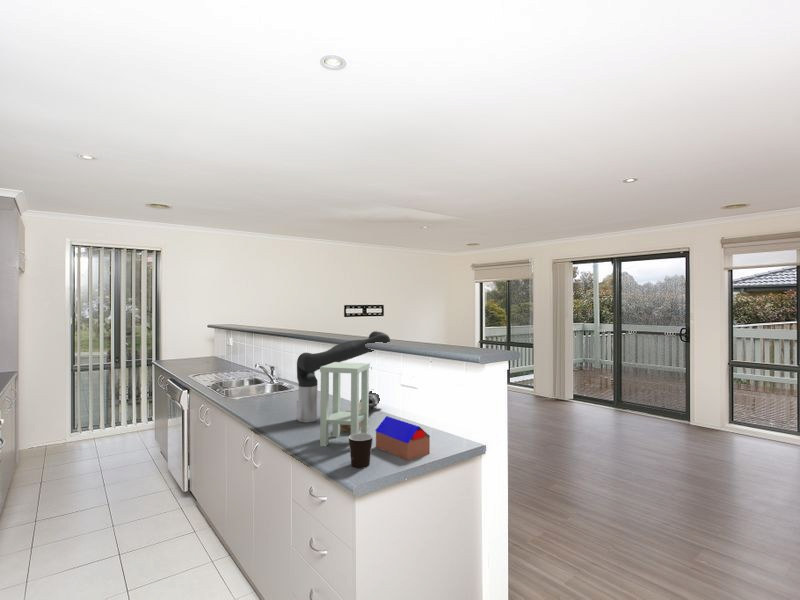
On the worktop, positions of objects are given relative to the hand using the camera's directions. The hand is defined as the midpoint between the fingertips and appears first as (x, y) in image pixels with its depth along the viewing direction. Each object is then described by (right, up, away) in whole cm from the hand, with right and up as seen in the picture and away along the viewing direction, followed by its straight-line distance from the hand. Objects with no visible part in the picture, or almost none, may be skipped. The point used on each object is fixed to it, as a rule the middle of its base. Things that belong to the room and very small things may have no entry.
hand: (358, 410), depth 204 cm
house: (+21, -7, -36) cm, 42 cm away
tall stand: (-3, -6, -26) cm, 27 cm away
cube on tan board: (-1, -4, -3) cm, 5 cm away
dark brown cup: (+6, -6, -50) cm, 51 cm away
